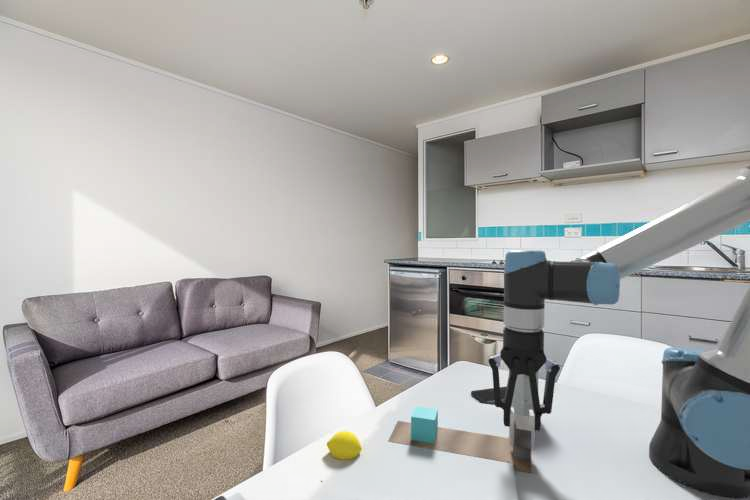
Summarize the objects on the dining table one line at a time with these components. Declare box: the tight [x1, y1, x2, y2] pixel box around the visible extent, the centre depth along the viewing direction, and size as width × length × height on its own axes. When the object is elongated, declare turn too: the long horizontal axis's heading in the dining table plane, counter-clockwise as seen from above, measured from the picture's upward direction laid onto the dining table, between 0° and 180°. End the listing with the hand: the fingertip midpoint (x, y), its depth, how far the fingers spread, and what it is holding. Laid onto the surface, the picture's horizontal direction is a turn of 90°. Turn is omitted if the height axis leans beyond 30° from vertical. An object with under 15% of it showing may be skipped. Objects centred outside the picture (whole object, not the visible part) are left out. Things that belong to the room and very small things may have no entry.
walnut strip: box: [388, 414, 533, 473], centre depth 76 cm, size 28×9×7 cm, turn 73°
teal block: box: [410, 405, 439, 444], centre depth 78 cm, size 5×5×5 cm
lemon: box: [326, 430, 362, 461], centre depth 72 cm, size 7×5×5 cm
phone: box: [470, 386, 507, 406], centre depth 101 cm, size 8×1×15 cm
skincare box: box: [511, 370, 539, 419], centre depth 89 cm, size 6×4×12 cm
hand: (521, 443), depth 73 cm, fingers closed on walnut strip, 3 cm apart
